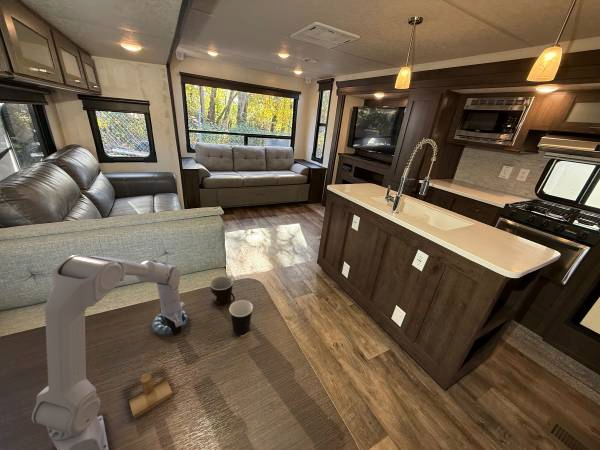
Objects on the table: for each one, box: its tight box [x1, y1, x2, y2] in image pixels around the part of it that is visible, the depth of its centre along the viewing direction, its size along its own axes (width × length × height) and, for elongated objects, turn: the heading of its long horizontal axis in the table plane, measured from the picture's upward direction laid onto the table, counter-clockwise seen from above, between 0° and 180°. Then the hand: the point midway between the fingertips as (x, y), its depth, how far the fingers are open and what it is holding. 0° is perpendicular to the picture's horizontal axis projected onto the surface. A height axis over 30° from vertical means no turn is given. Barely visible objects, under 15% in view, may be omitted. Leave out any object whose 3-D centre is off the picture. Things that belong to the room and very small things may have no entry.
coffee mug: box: [209, 275, 236, 307], centre depth 97 cm, size 12×9×10 cm
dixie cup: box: [228, 299, 254, 338], centre depth 86 cm, size 8×8×11 cm
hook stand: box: [128, 373, 173, 420], centre depth 66 cm, size 9×9×6 cm
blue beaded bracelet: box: [151, 309, 189, 336], centre depth 88 cm, size 11×11×3 cm
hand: (174, 328), depth 85 cm, fingers open, 4 cm apart
